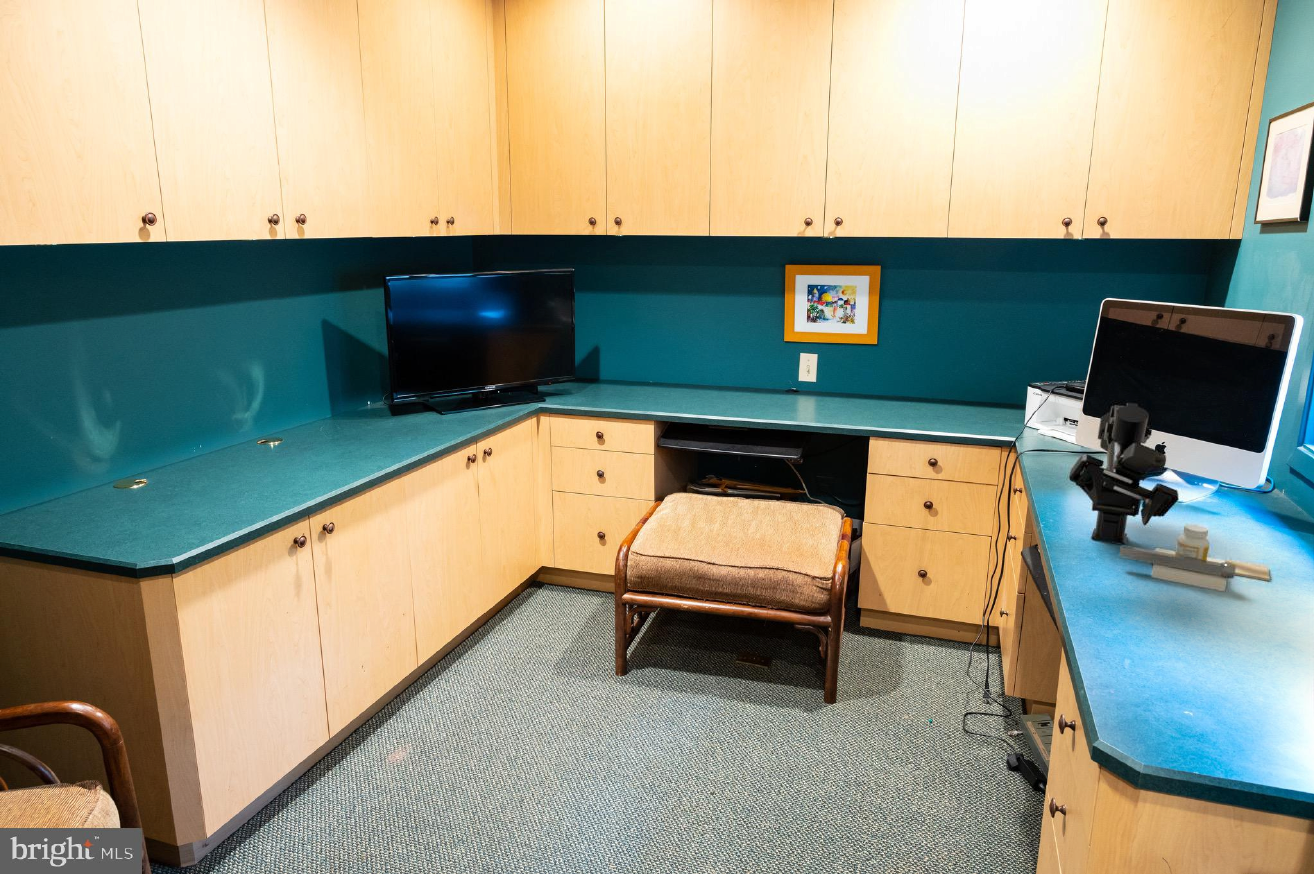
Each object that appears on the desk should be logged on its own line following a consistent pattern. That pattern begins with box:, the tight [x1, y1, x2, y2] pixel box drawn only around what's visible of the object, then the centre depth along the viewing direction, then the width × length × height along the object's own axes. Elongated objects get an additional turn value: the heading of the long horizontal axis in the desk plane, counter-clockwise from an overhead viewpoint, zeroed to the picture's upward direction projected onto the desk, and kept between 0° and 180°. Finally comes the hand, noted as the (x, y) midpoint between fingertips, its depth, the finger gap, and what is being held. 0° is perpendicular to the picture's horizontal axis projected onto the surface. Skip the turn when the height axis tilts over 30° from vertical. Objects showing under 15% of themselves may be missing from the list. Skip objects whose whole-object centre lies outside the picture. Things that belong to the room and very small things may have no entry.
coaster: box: [1225, 558, 1271, 582], centre depth 172 cm, size 7×7×1 cm
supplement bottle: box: [1175, 523, 1211, 560], centre depth 169 cm, size 5×5×10 cm
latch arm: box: [1119, 544, 1236, 579], centre depth 168 cm, size 19×2×2 cm, turn 59°
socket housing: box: [1151, 547, 1227, 592], centre depth 170 cm, size 12×12×2 cm
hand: (1121, 513), depth 164 cm, fingers open, 9 cm apart
